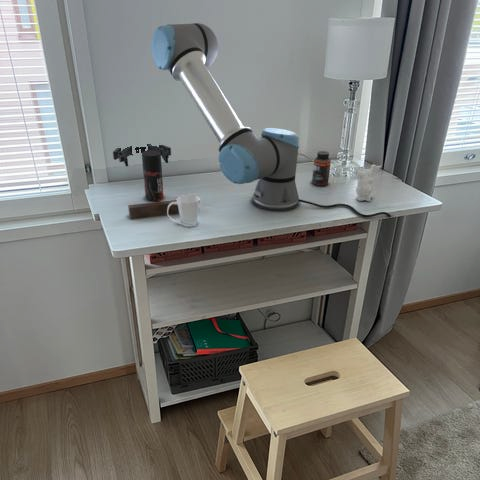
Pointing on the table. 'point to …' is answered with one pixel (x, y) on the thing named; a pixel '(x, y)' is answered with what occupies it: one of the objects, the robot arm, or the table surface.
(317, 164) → the supplement bottle
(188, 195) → the cup
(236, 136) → the robot arm
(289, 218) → the table surface
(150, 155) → the deodorant
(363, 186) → the koala figurine
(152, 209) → the wooden block
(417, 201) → the table surface
